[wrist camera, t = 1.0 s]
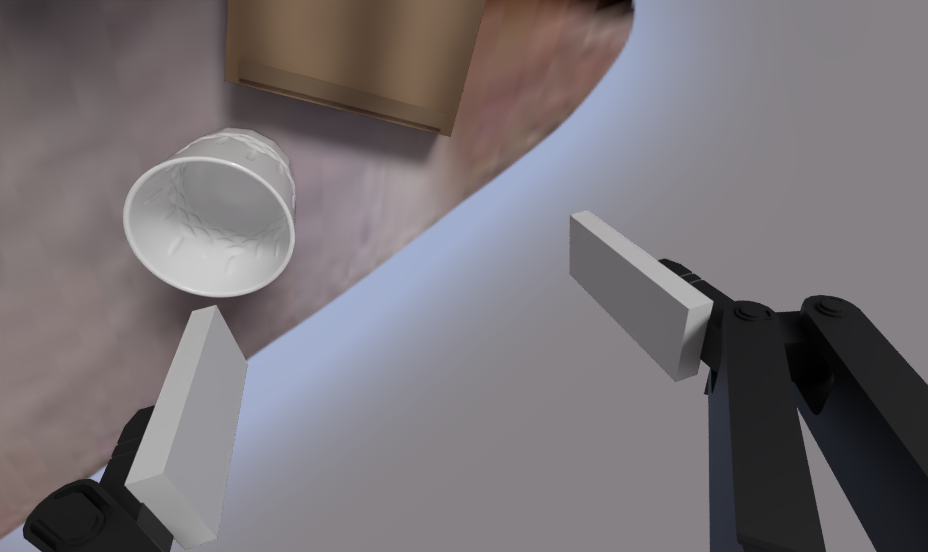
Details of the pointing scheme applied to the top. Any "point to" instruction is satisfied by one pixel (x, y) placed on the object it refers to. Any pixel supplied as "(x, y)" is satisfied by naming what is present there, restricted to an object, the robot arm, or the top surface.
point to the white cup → (215, 215)
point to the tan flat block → (358, 54)
